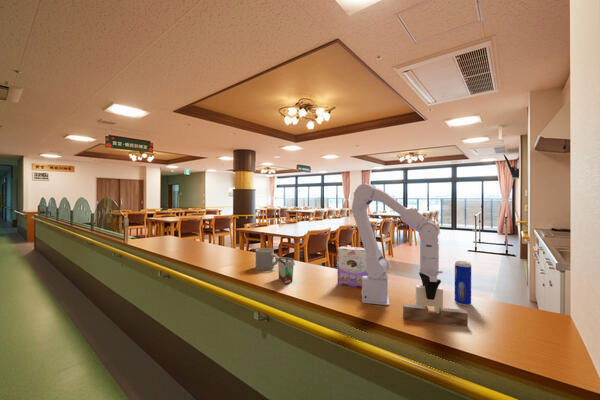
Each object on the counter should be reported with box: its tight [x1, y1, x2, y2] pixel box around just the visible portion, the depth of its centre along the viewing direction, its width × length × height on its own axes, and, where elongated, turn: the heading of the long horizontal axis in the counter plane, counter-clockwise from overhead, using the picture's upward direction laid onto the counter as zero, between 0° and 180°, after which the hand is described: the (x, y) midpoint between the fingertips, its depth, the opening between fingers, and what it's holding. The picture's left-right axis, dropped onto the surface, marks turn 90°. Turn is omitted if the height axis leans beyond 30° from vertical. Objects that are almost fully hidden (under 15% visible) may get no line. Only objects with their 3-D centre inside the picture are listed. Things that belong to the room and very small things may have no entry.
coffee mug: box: [255, 247, 279, 271], centre depth 144 cm, size 13×10×10 cm
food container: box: [277, 256, 296, 285], centre depth 123 cm, size 12×6×10 cm, turn 22°
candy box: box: [336, 245, 368, 289], centre depth 117 cm, size 14×6×16 cm, turn 63°
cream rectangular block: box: [415, 284, 444, 314], centre depth 91 cm, size 8×2×8 cm, turn 74°
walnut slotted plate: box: [402, 303, 469, 327], centre depth 83 cm, size 18×2×4 cm, turn 74°
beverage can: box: [454, 260, 472, 307], centre depth 96 cm, size 5×5×15 cm
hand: (429, 296), depth 91 cm, fingers open, 4 cm apart
